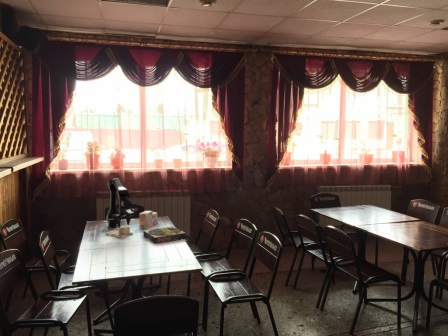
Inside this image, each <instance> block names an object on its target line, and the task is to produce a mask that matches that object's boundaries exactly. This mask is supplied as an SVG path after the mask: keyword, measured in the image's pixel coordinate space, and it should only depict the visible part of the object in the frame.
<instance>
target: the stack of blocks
mask: <svg viewBox="0 0 448 336" xmlns="http://www.w3.org/2000/svg"><path fill="white" fill-rule="evenodd" d="M138 215H139V217H138V219H139V221H138V222H139V229H144V230H148V229H149V228H150V227H153V226H154V225H156V224H158V223H159V221H158V220H159V219H158V217H159V216H158V212H156V211H153V210H144V211H143V212H140V213H139V214H138Z"/></svg>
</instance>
